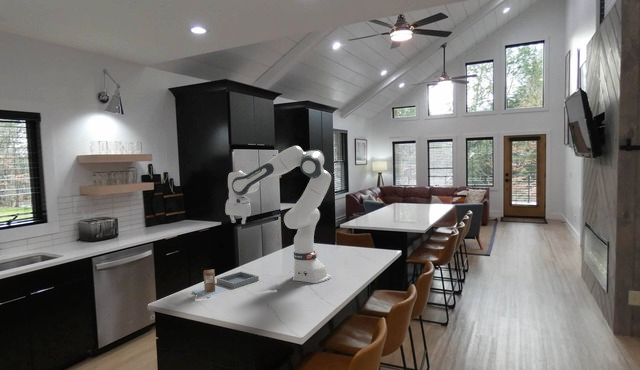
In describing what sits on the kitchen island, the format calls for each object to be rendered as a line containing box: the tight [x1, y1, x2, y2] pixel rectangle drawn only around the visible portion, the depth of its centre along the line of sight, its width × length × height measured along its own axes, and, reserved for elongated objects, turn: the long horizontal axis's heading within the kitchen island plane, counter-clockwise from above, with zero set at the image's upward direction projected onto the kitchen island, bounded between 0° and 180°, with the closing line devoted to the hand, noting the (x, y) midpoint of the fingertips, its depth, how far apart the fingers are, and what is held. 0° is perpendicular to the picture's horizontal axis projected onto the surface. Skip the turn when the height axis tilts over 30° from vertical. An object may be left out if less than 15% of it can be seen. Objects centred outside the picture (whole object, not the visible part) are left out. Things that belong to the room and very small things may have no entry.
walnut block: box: [203, 268, 216, 292], centre depth 196 cm, size 5×5×10 cm
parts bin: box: [216, 271, 259, 289], centre depth 209 cm, size 16×16×4 cm
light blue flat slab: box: [192, 285, 228, 299], centre depth 197 cm, size 14×12×1 cm
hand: (238, 223), depth 220 cm, fingers open, 8 cm apart
